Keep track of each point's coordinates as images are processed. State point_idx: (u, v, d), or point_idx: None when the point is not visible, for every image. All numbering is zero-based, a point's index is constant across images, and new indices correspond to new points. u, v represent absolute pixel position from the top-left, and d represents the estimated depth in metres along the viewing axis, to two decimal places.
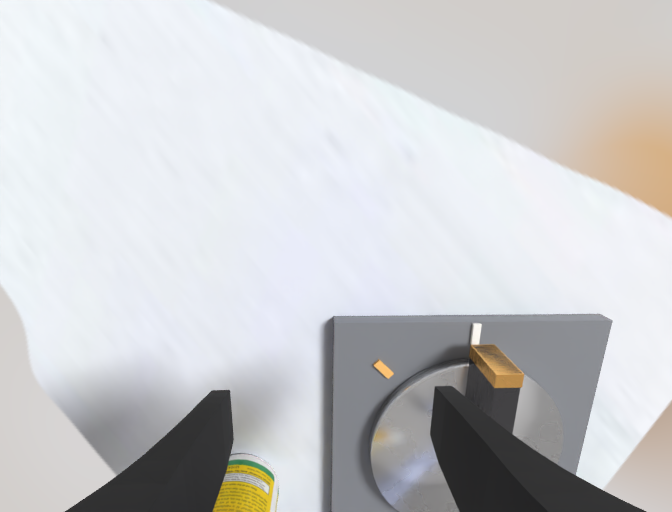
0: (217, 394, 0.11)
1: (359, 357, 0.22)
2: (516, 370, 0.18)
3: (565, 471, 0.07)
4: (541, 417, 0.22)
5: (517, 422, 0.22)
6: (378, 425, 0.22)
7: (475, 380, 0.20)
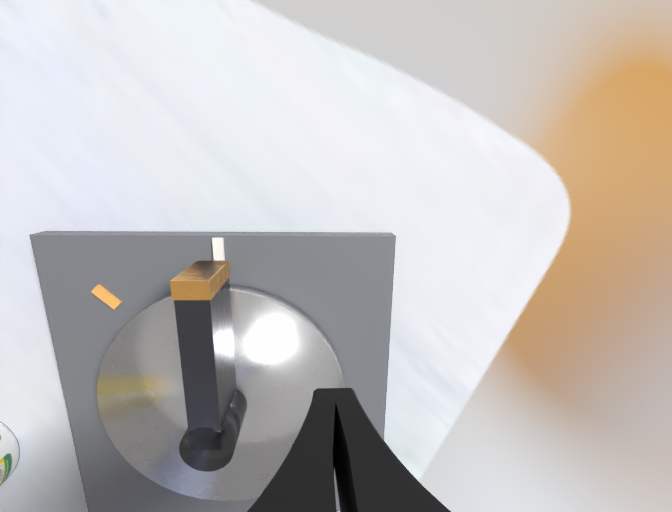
0: (326, 392, 0.11)
1: (73, 281, 0.17)
2: (205, 278, 0.13)
3: (409, 476, 0.07)
4: (311, 359, 0.18)
5: (280, 364, 0.18)
6: (101, 367, 0.17)
7: None
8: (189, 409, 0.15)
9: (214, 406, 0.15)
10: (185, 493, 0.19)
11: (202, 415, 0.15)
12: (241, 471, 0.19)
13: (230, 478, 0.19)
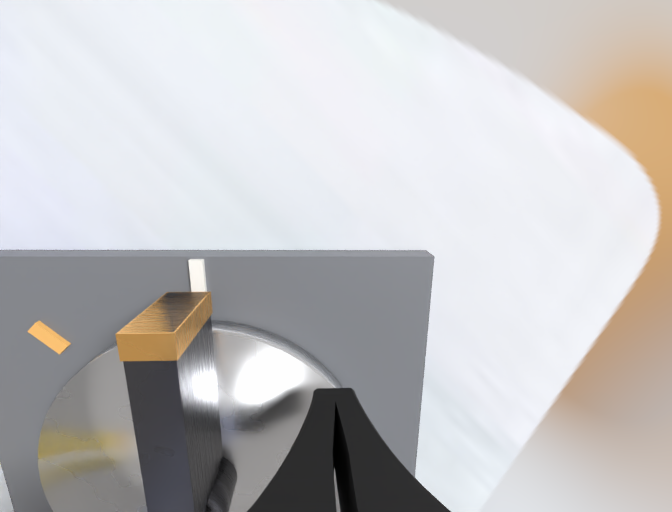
0: (325, 392, 0.11)
1: (4, 318, 0.13)
2: (170, 327, 0.09)
3: (409, 476, 0.07)
4: None
5: (280, 426, 0.13)
6: (42, 431, 0.13)
7: None
8: (152, 507, 0.10)
9: (186, 502, 0.10)
10: None
11: None
12: None
13: None
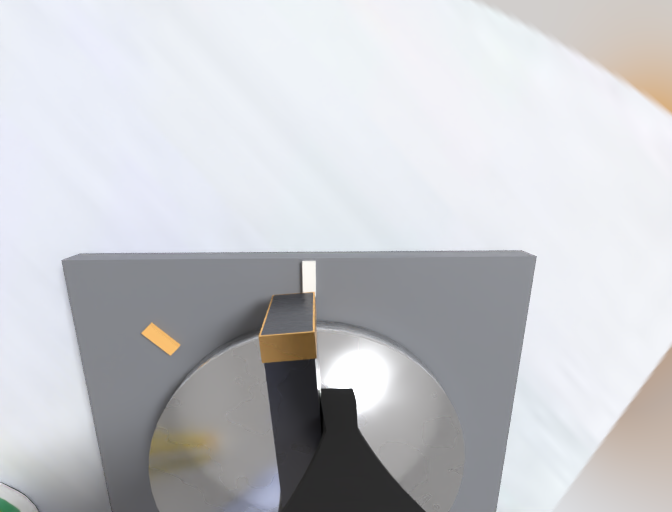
0: (345, 392, 0.11)
1: (118, 320, 0.13)
2: (305, 326, 0.09)
3: (388, 477, 0.07)
4: (421, 410, 0.14)
5: (381, 419, 0.14)
6: (152, 440, 0.13)
7: None
8: None
9: None
10: None
11: None
12: None
13: None
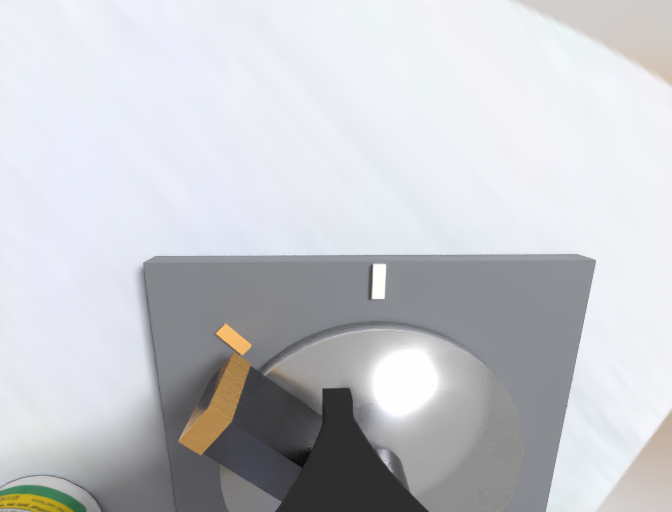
0: (342, 392, 0.11)
1: (193, 321, 0.13)
2: (207, 405, 0.10)
3: (391, 477, 0.07)
4: (406, 361, 0.13)
5: (383, 393, 0.13)
6: None
7: None
8: None
9: None
10: None
11: None
12: (456, 511, 0.15)
13: None
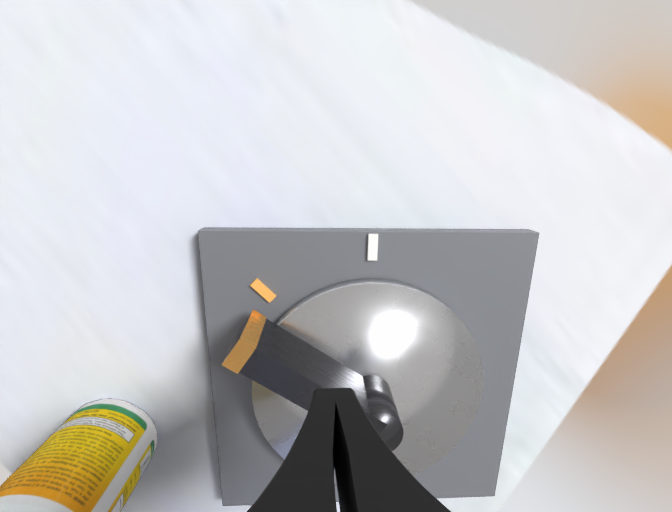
0: (325, 392, 0.11)
1: (233, 275, 0.18)
2: (238, 339, 0.15)
3: (409, 476, 0.07)
4: (381, 305, 0.18)
5: (367, 331, 0.18)
6: (275, 449, 0.20)
7: None
8: None
9: None
10: (420, 469, 0.20)
11: None
12: (436, 421, 0.20)
13: (435, 432, 0.20)
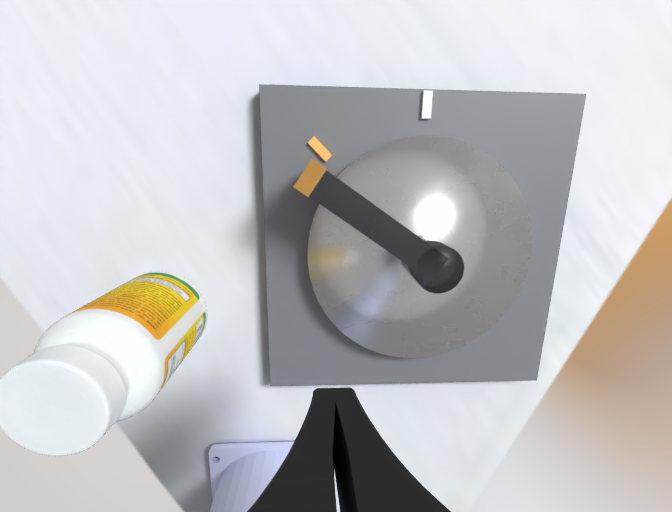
0: (325, 392, 0.11)
1: (291, 133, 0.18)
2: None
3: (409, 476, 0.07)
4: (436, 159, 0.18)
5: (422, 187, 0.18)
6: (328, 316, 0.20)
7: None
8: (398, 254, 0.16)
9: (409, 235, 0.16)
10: (468, 341, 0.21)
11: (410, 250, 0.16)
12: (485, 287, 0.20)
13: (484, 299, 0.20)
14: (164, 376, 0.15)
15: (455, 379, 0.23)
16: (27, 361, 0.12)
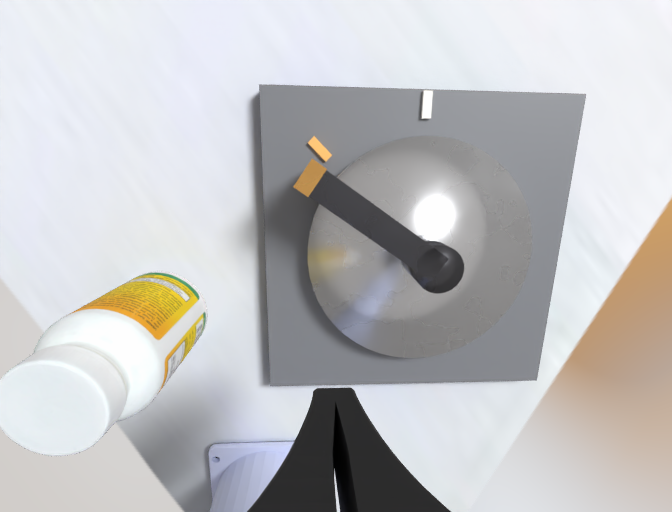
0: (325, 392, 0.11)
1: (291, 133, 0.18)
2: None
3: (409, 476, 0.07)
4: (436, 159, 0.18)
5: (422, 187, 0.18)
6: (328, 316, 0.20)
7: None
8: (398, 254, 0.16)
9: (409, 235, 0.16)
10: (468, 341, 0.21)
11: (410, 250, 0.16)
12: (485, 287, 0.20)
13: (484, 299, 0.20)
14: (164, 376, 0.15)
15: (455, 379, 0.23)
16: (27, 361, 0.12)
